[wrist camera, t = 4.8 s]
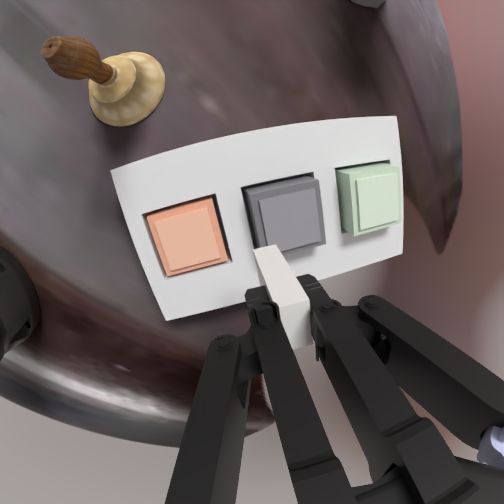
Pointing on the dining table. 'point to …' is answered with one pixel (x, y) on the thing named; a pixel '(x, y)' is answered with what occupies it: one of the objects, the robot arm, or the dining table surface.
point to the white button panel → (236, 208)
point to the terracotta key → (187, 235)
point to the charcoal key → (287, 214)
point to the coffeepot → (369, 3)
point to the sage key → (369, 197)
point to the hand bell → (109, 79)
